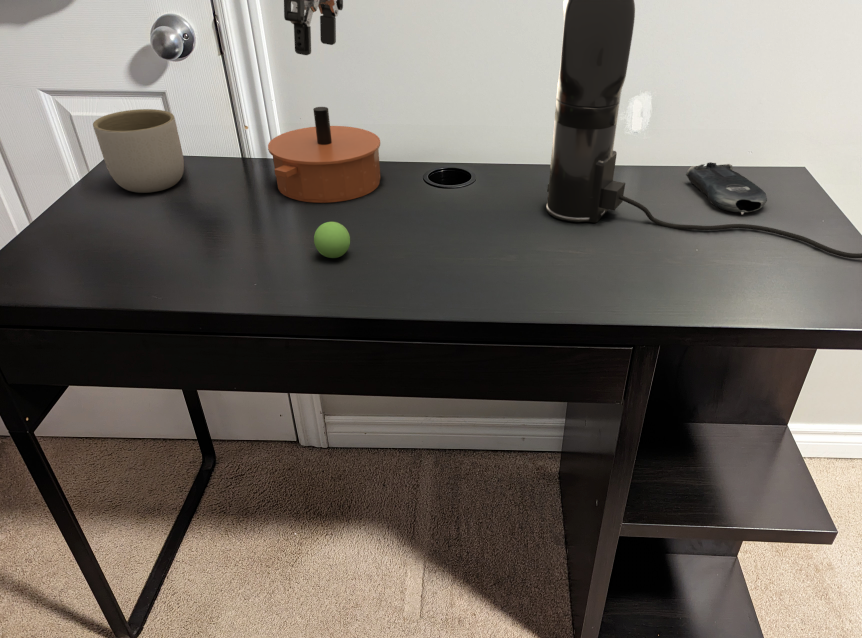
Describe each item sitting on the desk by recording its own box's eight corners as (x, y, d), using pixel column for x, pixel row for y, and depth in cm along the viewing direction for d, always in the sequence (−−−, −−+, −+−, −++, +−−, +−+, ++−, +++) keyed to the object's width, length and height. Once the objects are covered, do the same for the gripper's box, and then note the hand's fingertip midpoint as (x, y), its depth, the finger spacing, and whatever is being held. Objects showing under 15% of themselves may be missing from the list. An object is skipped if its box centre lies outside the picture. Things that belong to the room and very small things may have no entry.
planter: (96, 191, 115) (74, 125, 109) (149, 167, 124) (132, 105, 118) (154, 203, 111) (135, 135, 105) (204, 177, 121) (190, 114, 114)
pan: (407, 171, 124) (405, 135, 120) (328, 216, 108) (323, 176, 104) (330, 155, 130) (326, 120, 127) (245, 195, 114) (237, 156, 110)
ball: (358, 253, 98) (355, 220, 95) (337, 267, 94) (333, 233, 91) (330, 245, 100) (327, 213, 97) (309, 259, 96) (304, 226, 93)
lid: (401, 142, 118) (399, 103, 114) (335, 176, 105) (330, 133, 101) (316, 126, 126) (312, 88, 122) (245, 155, 113) (237, 114, 109)
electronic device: (678, 191, 120) (722, 214, 108) (686, 159, 118) (733, 178, 105) (724, 195, 123) (773, 217, 110) (733, 163, 120) (785, 182, 107)
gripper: (315, -78, 84) (319, 62, 94) (359, -82, 96) (358, 44, 105) (260, -86, 86) (269, 53, 95) (310, -89, 97) (313, 36, 106)
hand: (316, 48), depth 100 cm, fingers open, 8 cm apart
